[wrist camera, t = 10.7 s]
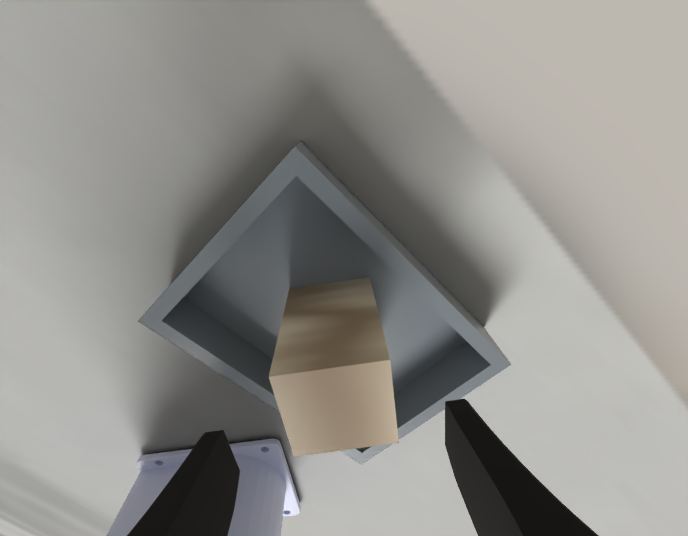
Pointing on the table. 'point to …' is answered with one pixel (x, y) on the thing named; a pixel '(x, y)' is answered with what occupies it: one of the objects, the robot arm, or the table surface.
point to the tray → (313, 269)
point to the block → (333, 370)
